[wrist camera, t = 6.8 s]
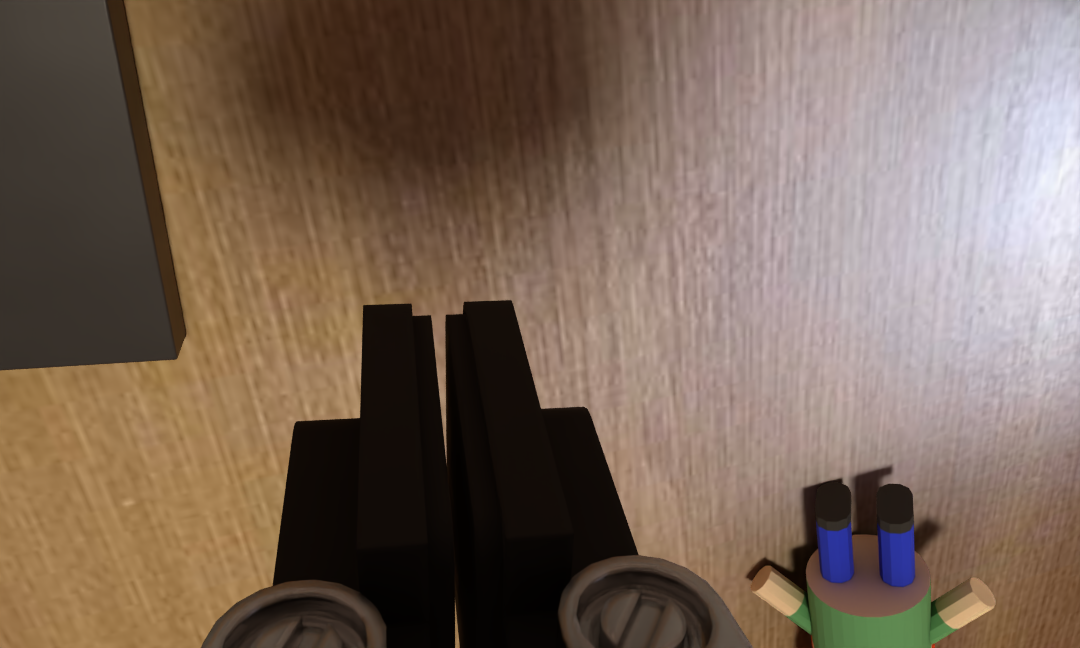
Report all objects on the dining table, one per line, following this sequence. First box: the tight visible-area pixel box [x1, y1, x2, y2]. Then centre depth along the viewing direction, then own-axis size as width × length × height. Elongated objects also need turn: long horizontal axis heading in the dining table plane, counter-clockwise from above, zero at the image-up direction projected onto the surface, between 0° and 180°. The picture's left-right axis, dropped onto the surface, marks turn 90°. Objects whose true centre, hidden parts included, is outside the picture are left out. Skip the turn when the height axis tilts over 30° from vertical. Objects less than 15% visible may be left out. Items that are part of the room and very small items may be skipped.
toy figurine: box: [751, 482, 996, 648], centre depth 35 cm, size 8×4×12 cm
